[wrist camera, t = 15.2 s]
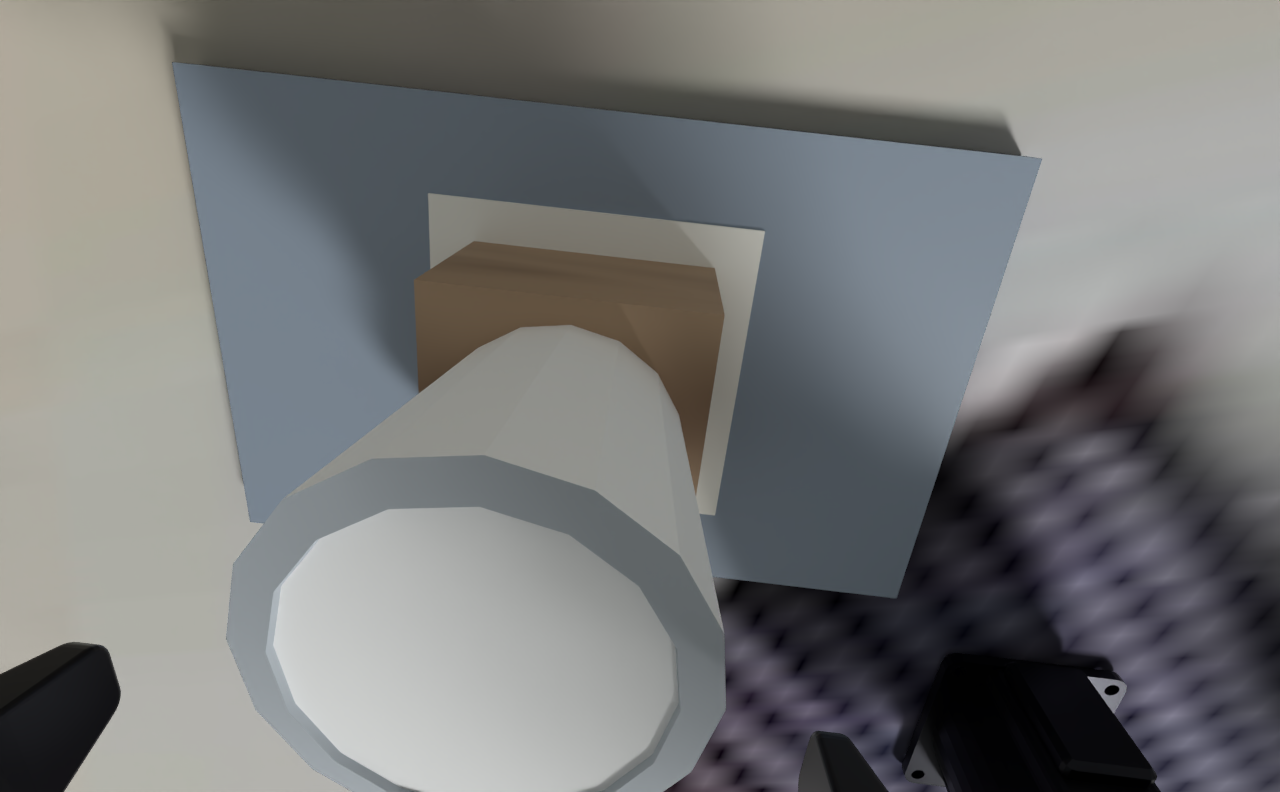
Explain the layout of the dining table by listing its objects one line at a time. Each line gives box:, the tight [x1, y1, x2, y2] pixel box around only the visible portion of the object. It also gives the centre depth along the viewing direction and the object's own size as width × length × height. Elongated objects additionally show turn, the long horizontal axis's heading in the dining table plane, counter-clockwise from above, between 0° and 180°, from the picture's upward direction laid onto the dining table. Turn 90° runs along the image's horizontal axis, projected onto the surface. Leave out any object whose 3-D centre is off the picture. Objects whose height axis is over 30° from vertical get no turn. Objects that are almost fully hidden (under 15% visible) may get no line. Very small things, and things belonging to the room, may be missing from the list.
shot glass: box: [226, 325, 726, 792], centre depth 12 cm, size 7×7×7 cm
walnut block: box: [414, 241, 725, 495], centre depth 17 cm, size 7×7×4 cm
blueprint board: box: [172, 62, 1042, 598], centre depth 20 cm, size 14×22×1 cm, turn 84°
